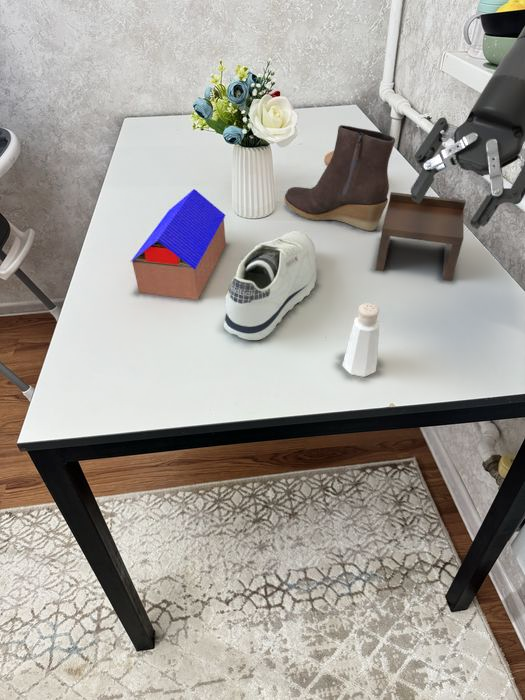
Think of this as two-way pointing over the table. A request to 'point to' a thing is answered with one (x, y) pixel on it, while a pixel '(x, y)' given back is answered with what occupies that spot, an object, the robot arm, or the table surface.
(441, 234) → the shelf
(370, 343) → the salt shaker
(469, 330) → the table surface
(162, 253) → the house
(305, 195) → the boot
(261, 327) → the running shoe
